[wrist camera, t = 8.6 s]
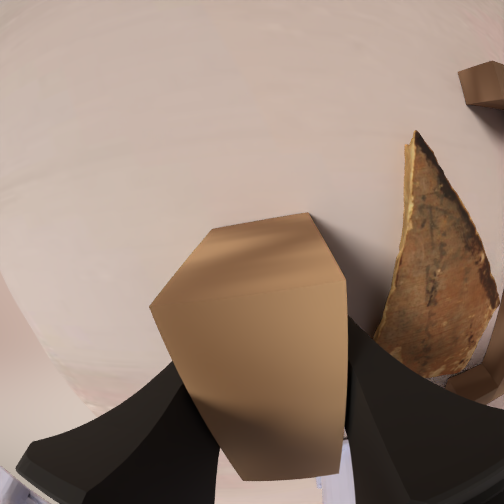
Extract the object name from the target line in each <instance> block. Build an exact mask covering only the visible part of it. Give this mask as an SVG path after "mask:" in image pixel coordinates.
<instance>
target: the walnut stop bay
mask: <svg viewBox="0 0 504 504" xmlns="http://www.w3.org/2000/svg"><path fill="white" fill-rule="evenodd" d="M458 75H459V78H460V82H461V85H462V89H463V93H464V97H465V101H466V105H475V106H482V107H488V108H495V109H500V110H504V65H503V64H501V63H498V62H495V61H490V62H486V63H483V64H480V65H477V66H474V67H471V68H468V69H465V70H462V71H459V72H458ZM445 389H446V390H448V391H451V392H453V393H455V394H457V395H459V396H462V397H464V398H467V399H469V400H472V401H475V402H478V403H481V404H484V405H486V404H488V403H490V402H491V401H493V400H495V399H496V398H498V397H500V396H501V395H503V394H504V291H503V296H502V300H501V304H500V308H499V312H498V316H497V320H496V323H495V327H494V330H493V333H492V337H491V340H490V343H489V346H488V348H487V351H486V354H485V357H484V359H483V362H482V364H480V365H478V366H476V367H474V368H471V369H469V370H467V371H465V372H463V373H460V374H458V375H456V376H453V377H451V378H449V379H448V381H447V384H446V386H445Z"/></svg>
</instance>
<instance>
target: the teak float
mask: <svg viewBox="0 0 504 504" xmlns="http://www.w3.org/2000/svg"><path fill="white" fill-rule="evenodd" d="M149 308H150V310H151V313H152V315H153V318H154V320H155V322H156V325H157V327H158V330H159V332H160V334H161V336H162V339H163V341H164V343H165V345H166V348H167V350H168V352H169V354H170V356H171V358H172V361H173V363H174V365H175V367H176V369H177V371H178V373H179V375H180V377H181V379H182V381H183V383H184V385H185V387H186V389H187V391H188V393H189V394H190V396H191V398H192V400H193V402H194V404H195V406H196V407H197V409H198V411H199V413H200V414H201V416H202V418H203V420H204V421H205V423H206V425H207V427H208V428H209V430H210V432H211V433H212V435H213V436H214V438H215V440H216V441H217V443H218V445H219V446H220V448H221V449H222V451H223V452H224V454H225V455H226V457H227V458H228V460H229V461H230V463H231V464H232V466H233V467H234V469H235V470H236V472H237V473H238V475H239V476H240V477H241V479H242V480H243V481H276V480H292V479H303V478H312V477H320V476H327V475H333V474H339V469H340V462H341V454H342V445H343V435H344V425H345V412H346V395H347V370H348V318H347V291H346V279H345V277H344V275H343V273H342V272H341V270H340V268H339V266H338V264H337V262H336V261H335V259H334V257H333V255H332V253H331V251H330V250H329V248H328V246H327V244H326V243H325V241H324V239H323V237H322V236H321V234H320V232H319V230H318V229H317V227H316V225H315V223H314V222H313V220H312V218H311V217H310V215H309V213H308V212H307V213H301V214H295V215H289V216H283V217H277V218H271V219H265V220H259V221H254V222H248V223H242V224H237V225H231V226H226V227H221V228H215V229H212V230H211V231H210V232H209V233H208V234H207V236H206V237H205V238H204V239H203V240H202V242H201V243H200V244H199V245H198V246H197V248H196V249H195V250H194V251H193V252H192V254H191V255H190V256H189V257H188V258H187V260H186V261H185V262H184V263H183V265H182V266H181V267H180V268H179V269H178V271H177V272H176V273H175V274H174V276H173V277H172V278H171V279H170V281H169V282H168V283H167V284H166V286H165V287H164V288H163V289H162V291H161V292H160V293H159V294H158V296H157V297H156V298H155V300H154V301H153V302H152V303H151V305H150V306H149Z"/></svg>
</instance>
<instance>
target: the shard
mask: <svg viewBox="0 0 504 504" xmlns="http://www.w3.org/2000/svg"><path fill="white" fill-rule="evenodd" d="M399 250H400V252H399V254H398V256H397V258H396V262H395V268H394V273H393V279H392V286H391V290H390V292H389V295H388V298H387V301H386V304H385V309H384V312H383V318H382V320H381V322H380V324H379V326H378V327H377V329H376V332H375V335H374V338H373V340H374V341H375V342H376V343H377V344H379V345H380V346H381V347H382V348H383V349H384V350H386V351H387V352H388V353H389V354H390V355H392V356H393V357H394V358H396V359H397V360H398V361H400V362H401V363H402V364H404V365H405V366H407V367H408V368H409V369H411V370H412V371H414V372H415V373H417V374H419V375H420V376H422V377H424V378H430V377H436V376H441V375H448V374H455V373H459V372H460V371H461V370H463V369H464V368H465V367H466V365H467V364H468V362H469V360H470V358H471V356H472V354H473V352H474V350H475V348H476V346H477V344H478V342H479V339H480V338H481V336H482V334H483V332H484V330H485V329H486V327H487V325H488V322H489V320H490V319H491V317H492V314H493V312H494V311H495V310H496V308H497V307H498V306H499V304H500V300H499V297H498V296H499V294H498V292H497V286H496V283H495V280H494V277H493V276H492V274H491V271H490V263H489V261H488V258H487V256H486V254H485V250H484V247H483V244H482V241H481V238H480V236H479V234H478V232H477V231H476V227H475V225H474V223H473V221H472V219H471V217H470V215H469V213H468V211H467V210H466V208H465V206H464V204H463V203H462V201H461V199H460V198H459V196H458V194H457V193H456V191H455V190H454V189H453V188H452V186H451V185H450V183H449V181H448V180H447V178H446V177H445V175H444V172H443V170H442V169H441V167H440V166H439V164H438V162H437V159H436V157H435V155H434V152H433V151H432V150H431V149H430V147H429V146H428V145H427V144H426V142H425V141H424V139H423V138H422V136H421V135H420V133H419V132H418V131H414V134H413V138H412V139H411V142H410V145H406V144H405V176H404V213H403V229H402V237H401V242H400V246H399Z"/></svg>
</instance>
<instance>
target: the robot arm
mask: <svg viewBox="0 0 504 504" xmlns="http://www.w3.org/2000/svg"><path fill="white" fill-rule="evenodd" d="M347 318H348V370H347V395H346V412H345V425H344V426H345V430H346V433H347V437H348V439H347V440H343V445H342V454H341V462H340V469H339V474H333V475H327V476H320V477H316V482H317V488H320V489H321V488H322V499H323V504H504V410H503V409H498V408H494V407H490V406H487V405H484V404H481V403H478V402H475V401H472V400H469V399H467V398H464V397H462V396H459V395H457V394H455V393H453V392H451V391H448V390H446V389H444V388H442V387H440V386H438V385H436V384H434V383H432V382H431V381H429V380H427V379H425V378H424V377H422V376H420V375H419V374H417V373H415V372H414V371H412V370H411V369H409V368H408V367H407V366H405V365H404V364H402V363H401V362H400V361H398V360H397V359H396V358H394V357H393V356H392V355H390V354H389V353H388V352H387V351H386V350H384V349H383V348H382V347H381V346H380V345H379V344H377V343H376V342H375V341H374V340H373V339H372V338H371V337H369V336H368V335H367V334H366V333H365V332H364V331H363V330H362V329H361V328H360V327H359V326H358V325H357V324H356V323H355V322H354V321H353V320H352V319H351V318H350V317H349V316H348V315H347ZM219 451H220V446H219V445H218V443H217V441H216V440H215V438H214V436H213V435H212V433H211V432H210V430H209V428H208V427H207V425H206V423H205V421H204V420H203V418H202V416H201V414H200V413H199V411H198V409H197V407H196V406H195V404H194V402H193V400H192V398H191V396H190V394H189V393H188V391H187V389H186V387H185V385H184V383H183V381H182V379H181V377H180V375H179V373H178V371H177V369H176V367H175V365H174V363H173V361H172V362H171V363H170V364H169V365H168V366H167V367H166V368H165V369H163V370H162V371H161V372H160V373H159V374H158V375H157V376H156V377H154V378H153V379H152V380H151V381H150V382H149V383H148V384H147V385H145V386H144V387H143V388H142V389H140V390H139V391H138V392H137V393H135V394H134V395H133V396H131V397H130V398H128V399H127V400H126V401H124V402H123V403H121V404H120V405H118V406H117V407H115V408H113V409H112V410H110V411H108V412H107V413H105V414H103V415H101V416H100V417H98V418H96V419H94V420H92V421H90V422H88V423H86V424H84V425H82V426H80V427H77V428H75V429H72V430H70V431H67V432H65V433H62V434H59V435H56V436H53V437H49V438H45V439H42V440H38V441H34V442H32V443H31V444H30V445H29V447H28V449H27V450H26V452H25V453H24V455H23V456H22V458H21V460H20V461H19V463H18V465H17V466H16V471H17V472H18V473H19V474H20V475H21V476H22V477H23V478H25V479H26V480H27V481H28V482H30V483H31V484H32V485H34V486H35V487H36V488H38V489H39V490H40V491H42V492H43V493H45V494H46V495H47V496H49V497H50V498H52V499H53V500H55V501H56V502H58V503H60V504H214V501H215V486H216V475H217V465H218V456H219ZM0 504H51V503H49V502H47V501H46V500H45V499H43V498H42V497H40V496H39V495H37V494H36V493H35V492H33V491H32V490H30V489H28V488H27V487H26V486H25V485H23V484H22V483H21V482H20V481H19V480H17V479H16V478H15V477H14V476H12V475H11V474H10V473H9V472H8V471H7V470H5V469H4V468H3V467H2V466H0Z"/></svg>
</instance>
